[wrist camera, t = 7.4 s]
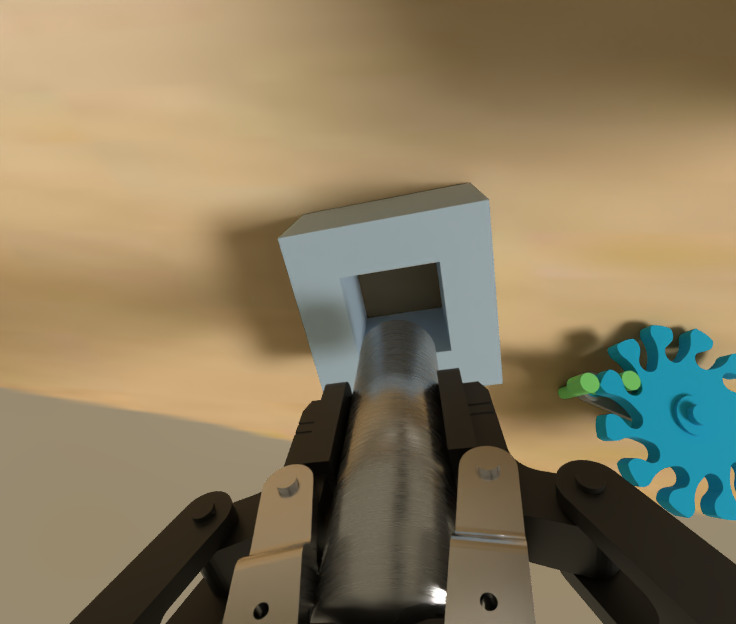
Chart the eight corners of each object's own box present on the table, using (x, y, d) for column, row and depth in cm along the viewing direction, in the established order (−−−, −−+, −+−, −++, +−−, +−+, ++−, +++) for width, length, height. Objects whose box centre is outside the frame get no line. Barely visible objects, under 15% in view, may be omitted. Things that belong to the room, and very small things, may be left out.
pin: (353, 325, 16) (288, 593, 7) (430, 314, 15) (471, 585, 6) (368, 388, 17) (330, 688, 8) (440, 380, 17) (487, 687, 7)
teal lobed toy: (800, 364, 22) (796, 561, 18) (705, 382, 27) (688, 536, 24) (607, 285, 22) (568, 463, 19) (552, 318, 28) (514, 460, 25)
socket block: (303, 214, 22) (277, 238, 18) (470, 182, 21) (489, 199, 16) (339, 354, 26) (326, 404, 21) (484, 335, 24) (502, 383, 20)
